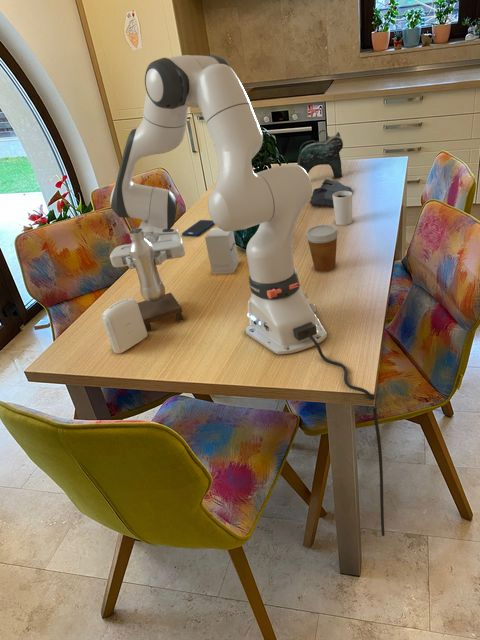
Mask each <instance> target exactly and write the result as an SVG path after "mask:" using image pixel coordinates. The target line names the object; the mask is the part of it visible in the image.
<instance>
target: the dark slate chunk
mask: <svg viewBox="0 0 480 640" xmlns="http://www.w3.org/2000/svg"><path fill="white" fill-rule="evenodd" d="M339 191H350V192H352V188H351V186H348V185H344V184H343V183H342V182H339V181H338V180H332V179H329V178H325V179H324V180H323V182H322V184H321V185H320V187H317V188H314V189H313V190H312V194H311V198H310V200H309V203H310V205H311V206H312V207H330V208H331V207H333V208H334V204H333V194H334V193H336V192H339Z"/></svg>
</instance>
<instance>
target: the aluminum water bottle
mask: <svg viewBox="0 0 480 640" xmlns="http://www.w3.org/2000/svg"><path fill="white" fill-rule="evenodd" d="M128 234H129V239H130V241H131V242H130V244H131V245H130V248H129V254H130V257H131V259H132V261H133V263H134V265H135V268H134V269H135V270H136V274H137V276H138V281H139V286H140V287H139V288H140V294H141V297H142V298H143V301H145V300H146V301H147V302H155V301H158V300H160V299H162V298H163V297H164V295H165V294H166V287H165V284H164V283H163V281H162V279H161V275H160V273H159V271H158V266H157V265H156V262H155V254H154V248H153V246H152V244H151V243H150V242H149V241H148V240H147V239H145V234H144V231H143V229H142V228H139V227H138V228H134V229H131V230H129V232H128Z"/></svg>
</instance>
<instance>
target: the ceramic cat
mask: <svg viewBox="0 0 480 640" xmlns="http://www.w3.org/2000/svg"><path fill="white" fill-rule="evenodd" d="M323 132H325V133H326V136H325V137H326V139H325V140H323V141H321V140H313V139H312V140H308V141H305V142H303V143H302V144H301V145H300V147H299V151H298V158H297V163H296V165H299V166H301V167H302V168H303V169H304V170H305V171H306V172H307V173H308V174H309V173H310V171H311V170H312V169H313V168H315V167H316V166H325V165H327V166H328V165H329V166H330V168H331V171H332V174H333V178H334V179H337V178H343V169H342V160H341V159H342V158H341V154H340V152H341V151H342V149H343V147H344V142H343V138H342V136H341V134H340V132H339V131H337V132H336V134H335V135H332V136H330V135H329V134H328V131H327V130H325V129H322V130H320V131H319V132H318V135H320V134H321V133H323ZM311 142H313V143H311ZM308 143H309V144H308ZM304 145H305V146H304ZM303 146H304V147H303Z"/></svg>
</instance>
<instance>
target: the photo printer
mask: <svg viewBox="0 0 480 640" xmlns="http://www.w3.org/2000/svg"><path fill="white" fill-rule="evenodd" d="M137 303H138V302H137V301H136V299H135V298H132V297H127V298H123V299H120V300H118V301H116V302H114V303H112V304H111V305H110V306H108V308H106V309H105V310H104V311H103V312H102V313H101V315H100V316H101V321H102V324H103V327H104V329H105V332H106V334H107V337H108V340H109V344H110V346H111V349H112V350H113V352H114V353H115V354H123V353H124V352H126V351H127V350H130V348H132V347H134V346H135V345H136V344H139V343H140V342H141V341H143V340H145V339H146V338H147V337H148V332H147V331H146V328H145V325H144V322H143V319H142V316H141V312H140V309H139V306H138V304H137Z"/></svg>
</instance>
